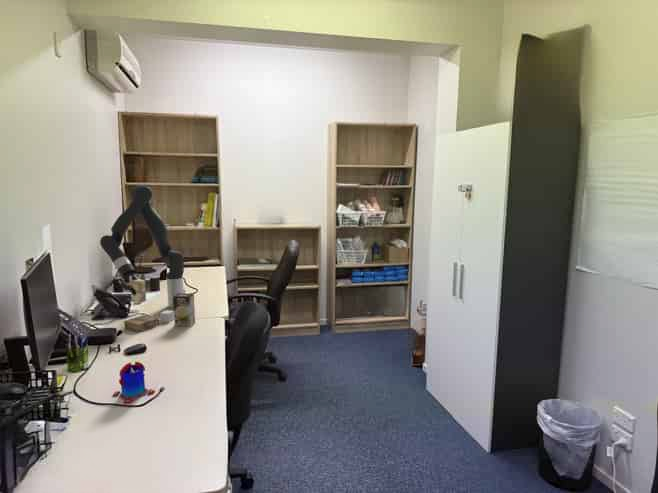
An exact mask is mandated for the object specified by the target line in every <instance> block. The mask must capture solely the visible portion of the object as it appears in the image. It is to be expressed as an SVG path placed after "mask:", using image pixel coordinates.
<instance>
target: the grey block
mask: <svg viewBox="0 0 658 493" xmlns="http://www.w3.org/2000/svg"><path fill="white" fill-rule="evenodd" d="M159 315H160V317H159V318H160V323H171V322H173V321H175V320H174V310H167V309H166V310H163V311H162V312H160V313H159Z"/></svg>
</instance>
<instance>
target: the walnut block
mask: <svg viewBox="0 0 658 493" xmlns="http://www.w3.org/2000/svg"><path fill="white" fill-rule="evenodd" d="M157 322H158V321H157V318H155V317H152V316H147V315H144V314H143V315H139V316H137V317H133V318H130V319H126V320H124V322H123V323H124V330H125V329H126V330H128V331H132V332H135V333H141V332H143V331H147V330H150V329H152V328H155V327H158V323H157Z"/></svg>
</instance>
